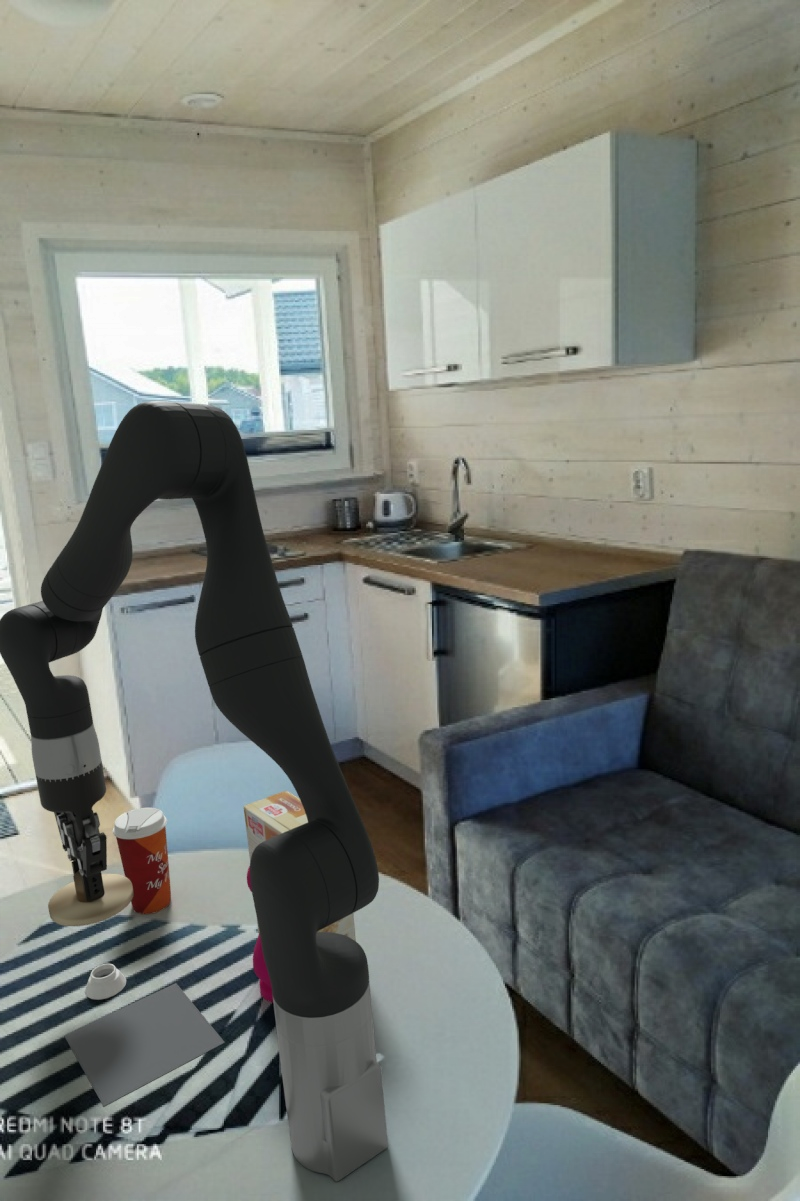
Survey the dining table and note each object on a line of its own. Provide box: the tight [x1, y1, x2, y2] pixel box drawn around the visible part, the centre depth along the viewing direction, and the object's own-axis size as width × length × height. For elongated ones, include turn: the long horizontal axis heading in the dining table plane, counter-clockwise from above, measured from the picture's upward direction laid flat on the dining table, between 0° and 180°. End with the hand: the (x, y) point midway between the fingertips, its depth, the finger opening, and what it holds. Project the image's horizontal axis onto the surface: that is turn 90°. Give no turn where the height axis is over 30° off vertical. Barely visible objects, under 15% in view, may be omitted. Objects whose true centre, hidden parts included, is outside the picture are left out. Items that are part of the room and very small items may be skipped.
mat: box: [63, 982, 226, 1107], centre depth 103 cm, size 14×14×1 cm
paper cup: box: [112, 807, 172, 915], centre depth 130 cm, size 8×8×14 cm
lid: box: [47, 871, 134, 927], centre depth 110 cm, size 10×10×4 cm
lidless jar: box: [84, 963, 127, 1001], centre depth 112 cm, size 5×3×5 cm
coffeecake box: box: [243, 790, 357, 942], centre depth 116 cm, size 15×7×20 cm, turn 37°
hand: (90, 891), depth 110 cm, fingers closed on lid, 3 cm apart
